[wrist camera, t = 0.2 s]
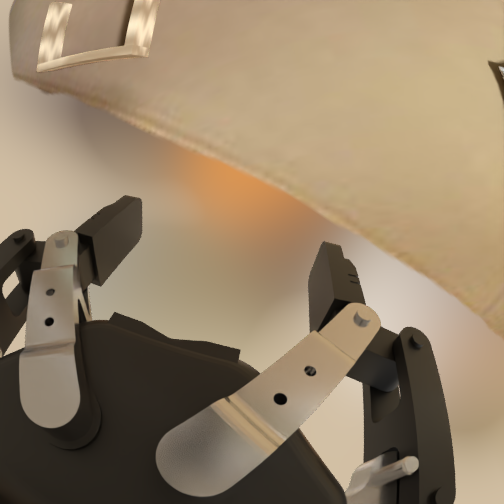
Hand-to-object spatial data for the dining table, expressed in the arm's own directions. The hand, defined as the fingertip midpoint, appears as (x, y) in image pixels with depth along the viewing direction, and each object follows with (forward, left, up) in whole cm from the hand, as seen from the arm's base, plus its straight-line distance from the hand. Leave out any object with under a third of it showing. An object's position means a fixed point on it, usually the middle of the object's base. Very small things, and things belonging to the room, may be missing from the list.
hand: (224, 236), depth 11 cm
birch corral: (-18, -32, -29) cm, 47 cm away
